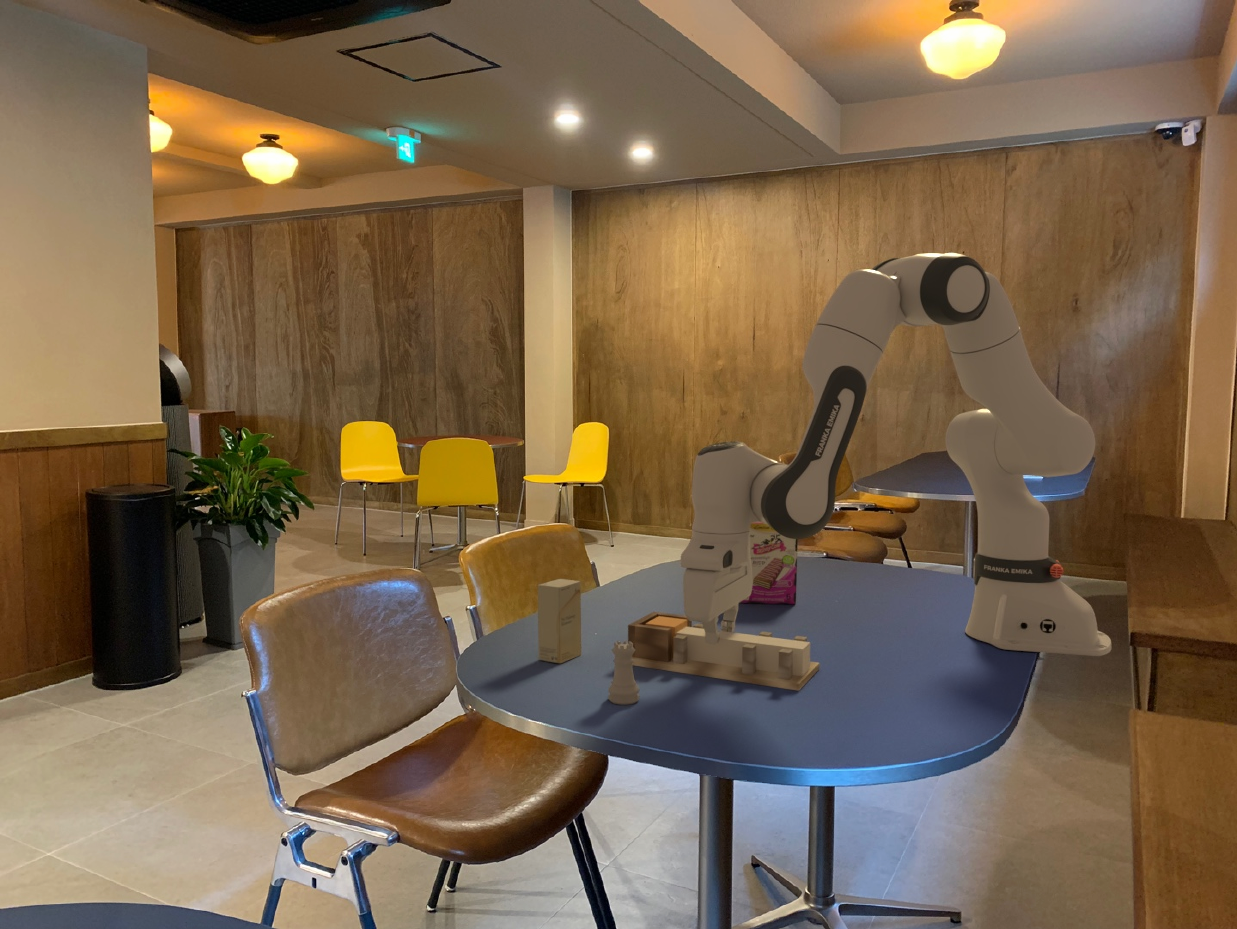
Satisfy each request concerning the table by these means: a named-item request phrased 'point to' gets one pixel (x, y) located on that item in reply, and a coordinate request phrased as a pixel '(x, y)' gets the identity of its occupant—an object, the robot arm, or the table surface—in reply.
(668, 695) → the table surface
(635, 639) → the rail
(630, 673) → the rook chess piece
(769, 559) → the candy bar box
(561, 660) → the skincare box
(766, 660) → the orange tipped beige bar
